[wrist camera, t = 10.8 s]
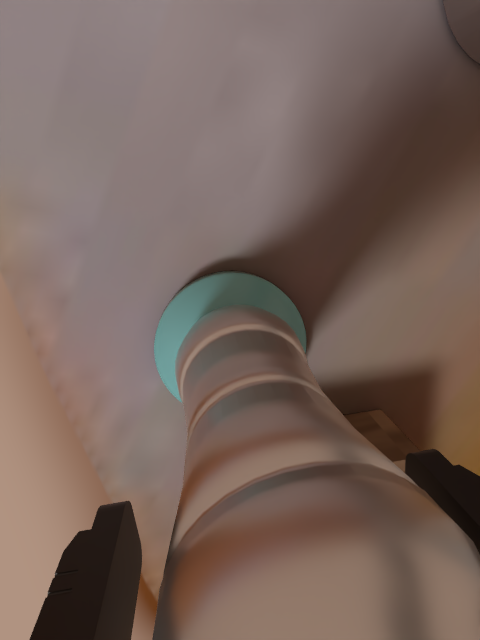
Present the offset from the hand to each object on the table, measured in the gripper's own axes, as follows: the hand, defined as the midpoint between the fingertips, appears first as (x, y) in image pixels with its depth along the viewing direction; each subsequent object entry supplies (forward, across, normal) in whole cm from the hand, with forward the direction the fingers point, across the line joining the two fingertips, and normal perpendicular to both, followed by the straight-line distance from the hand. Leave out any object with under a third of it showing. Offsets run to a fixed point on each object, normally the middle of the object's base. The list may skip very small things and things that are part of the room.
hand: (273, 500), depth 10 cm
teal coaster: (+13, 0, 0) cm, 13 cm away
